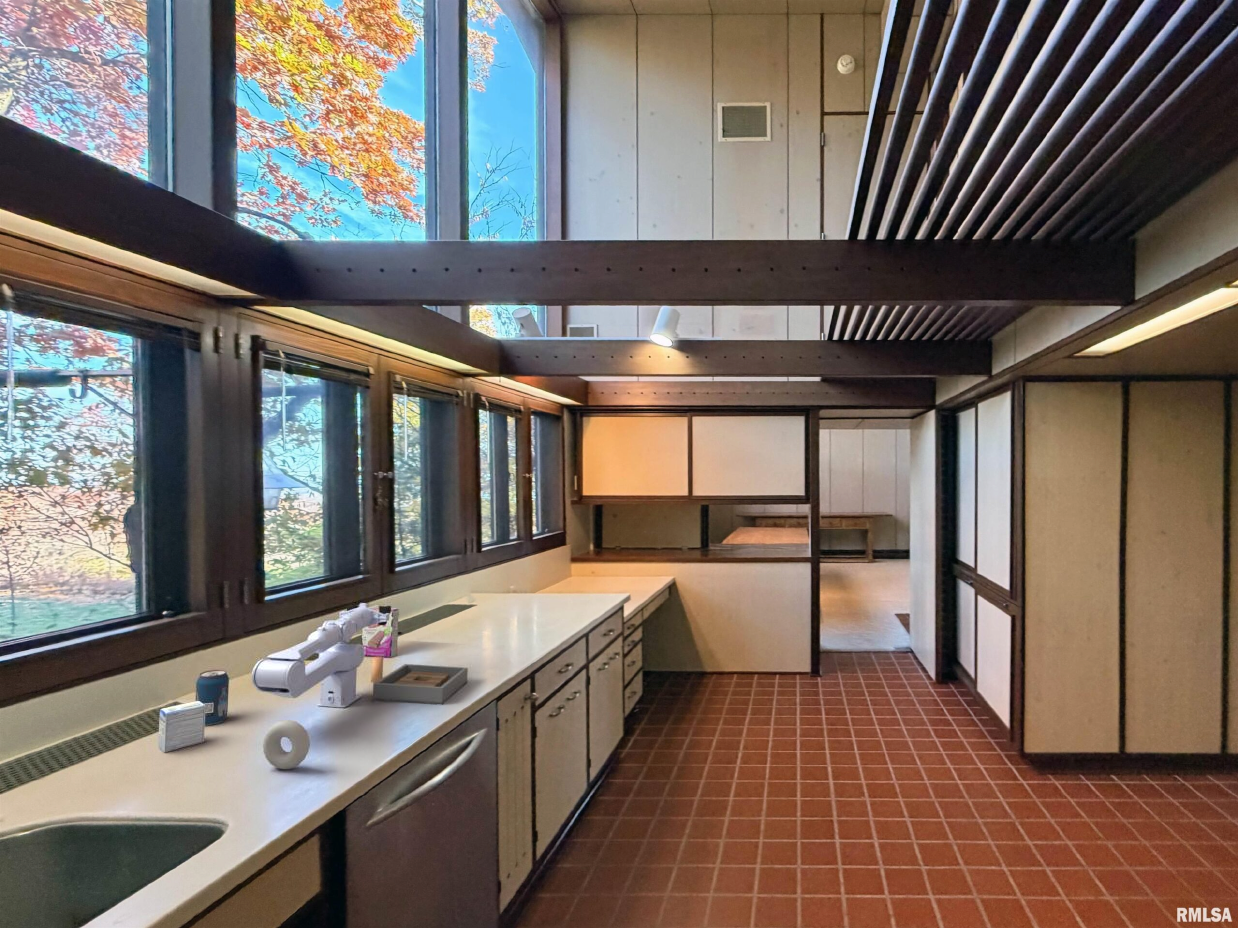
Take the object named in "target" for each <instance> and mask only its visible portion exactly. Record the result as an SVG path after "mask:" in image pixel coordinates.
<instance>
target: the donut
mask: <svg viewBox="0 0 1238 928" xmlns="http://www.w3.org/2000/svg"><path fill="white" fill-rule="evenodd" d="M283 738H287V739H288V740H289V742H291V743H290V744H291V750H290V751H286V750H284V748H283V747H282V746H283V745H282V739H283ZM310 746H311V744H310V736H309V733H308V731H307V730H306V729H305V727H304V726H303V725H302V724H301V723H299V722H298V721H294V720H290V719H285V720H280V721H278V722H276V723H274V724H273V725H271V727H270V728H269V729H267V731H266V733H265V735H264V738H263V741H262V750H263V752H262V753H263V754H264V757H265V759H266V760H267V762H268V763H269V764H270V765H272V766H273V767H274V768H276V769H280V770H290V769H293V768H295V767H297V766H299V765H301V763H302V762H304V761H305V759H306V758H307V755H308V754H309V751H310Z"/></svg>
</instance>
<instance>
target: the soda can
mask: <svg viewBox="0 0 1238 928" xmlns="http://www.w3.org/2000/svg"><path fill="white" fill-rule="evenodd" d="M195 683H196V684H195V701H200V702H201V703H203V704H204V705H205V706H206V710H205V725H207V726H212V725H213V724H214V725H218V724H220V723H222V722H223V721H224V720H225V719H226V717H227V715H228V712H229V711H228V709H229V686H230V684H229V683H230V677H229V675H228V673H227V670H225V669H212V670H205V671H202V672H200V673H199V677H198V678H197V680H196V682H195ZM195 701H194V702H195Z"/></svg>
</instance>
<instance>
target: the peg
mask: <svg viewBox="0 0 1238 928" xmlns="http://www.w3.org/2000/svg"><path fill="white" fill-rule="evenodd" d="M383 666H384V657H372V658H371V678H370V679H371V680H370V682H371V683H372V682H373V684H374V683H375V682H377V681H379V680H380V679H382V678H383V674H384V672H383V669H384V667H383Z"/></svg>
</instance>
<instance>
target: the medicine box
mask: <svg viewBox="0 0 1238 928" xmlns="http://www.w3.org/2000/svg"><path fill="white" fill-rule="evenodd" d="M205 710H206V706H205V705H204V704H203V703H201V702H200V701H192V702H187V703H181V704H176V705H172V706H169V707H164V708H161V709H160V710H159V719H158V720H159V721H158V722H159V723H158V742H157V743H158V745H157V746H158V748H159V749H160V750H161V751H162V752H163V753H167V752H171V751H174V750H175V751H176V750H178V749H183V748H186V747H189V746H193V745H197V744H201V743H204V742H205V729H206V727H205Z"/></svg>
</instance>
